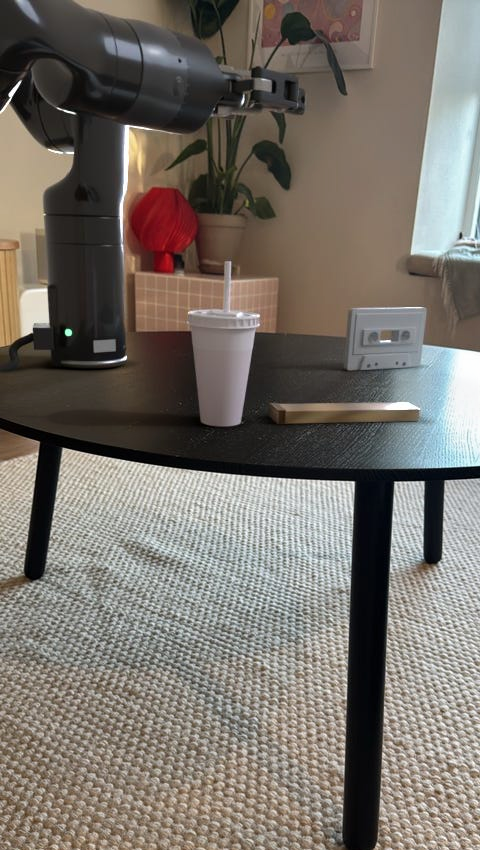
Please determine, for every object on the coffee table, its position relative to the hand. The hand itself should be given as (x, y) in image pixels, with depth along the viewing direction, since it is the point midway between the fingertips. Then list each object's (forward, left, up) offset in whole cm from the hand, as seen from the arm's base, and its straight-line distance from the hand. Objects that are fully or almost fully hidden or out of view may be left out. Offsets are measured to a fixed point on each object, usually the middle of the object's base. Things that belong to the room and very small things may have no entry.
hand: (266, 105), depth 74 cm
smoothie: (-7, -15, -28) cm, 33 cm away
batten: (+5, -15, -28) cm, 32 cm away
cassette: (+20, +12, -28) cm, 37 cm away
